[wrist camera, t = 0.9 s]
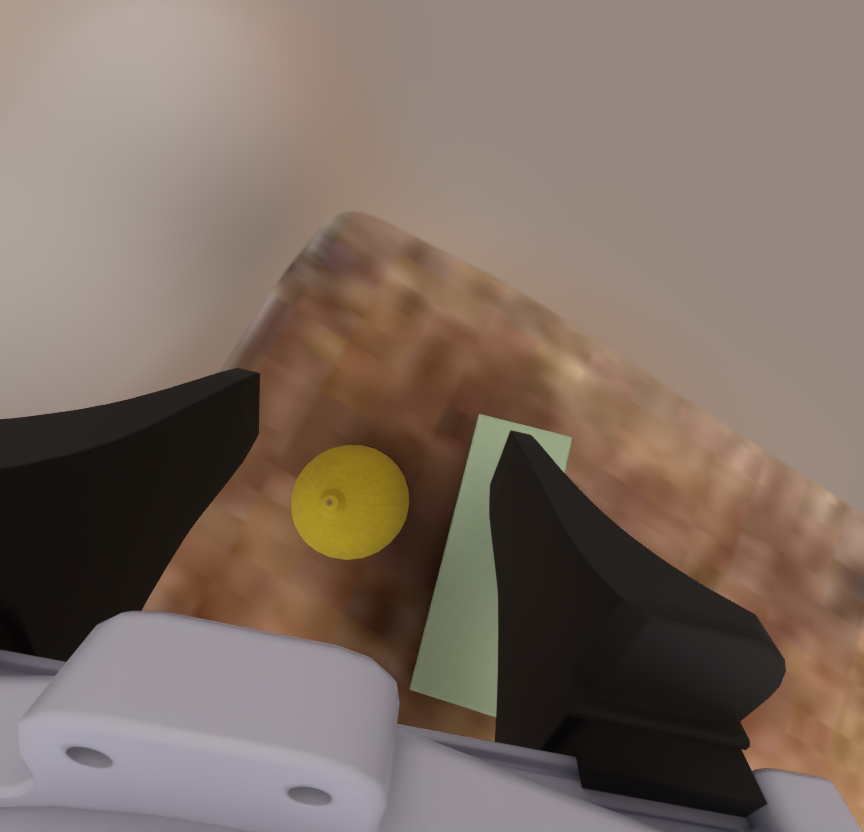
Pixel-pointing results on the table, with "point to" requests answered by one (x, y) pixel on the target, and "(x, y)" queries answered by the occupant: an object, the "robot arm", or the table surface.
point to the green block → (472, 580)
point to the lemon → (350, 502)
